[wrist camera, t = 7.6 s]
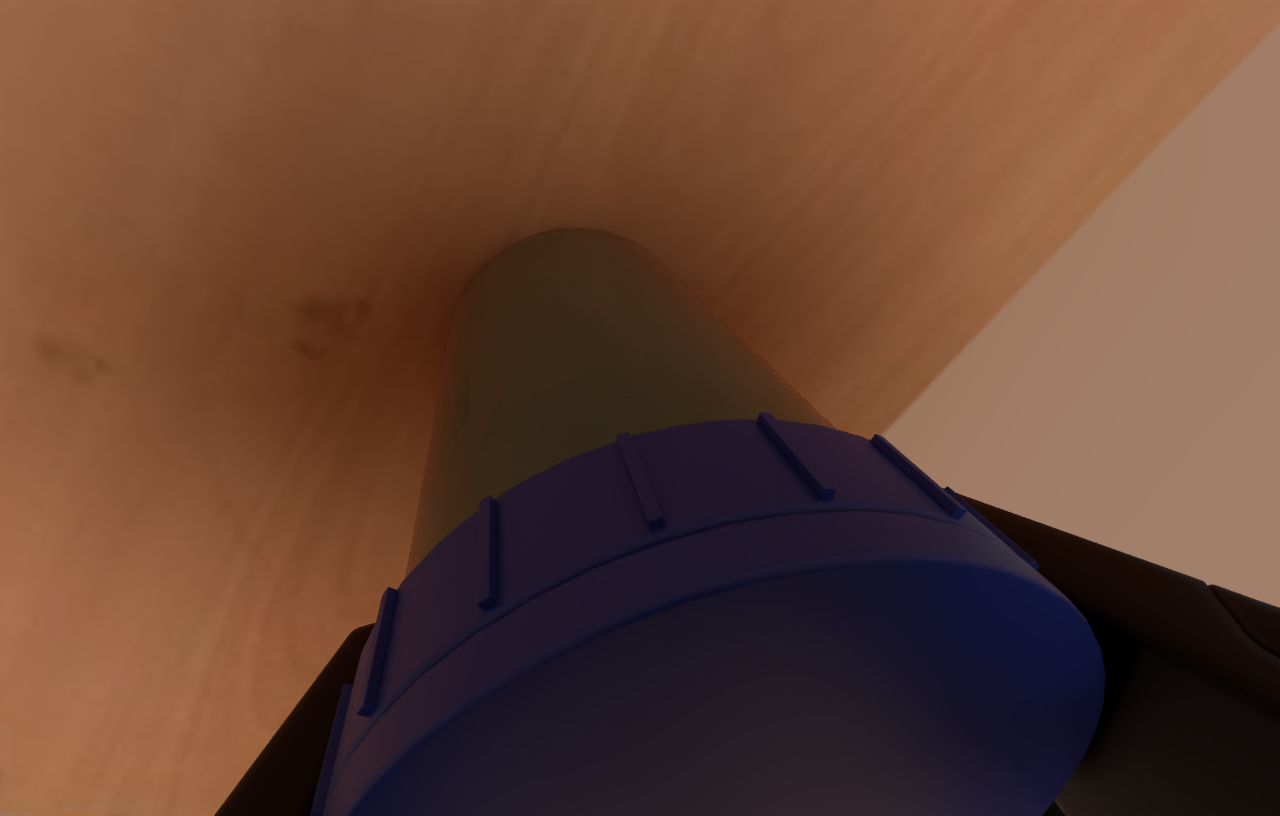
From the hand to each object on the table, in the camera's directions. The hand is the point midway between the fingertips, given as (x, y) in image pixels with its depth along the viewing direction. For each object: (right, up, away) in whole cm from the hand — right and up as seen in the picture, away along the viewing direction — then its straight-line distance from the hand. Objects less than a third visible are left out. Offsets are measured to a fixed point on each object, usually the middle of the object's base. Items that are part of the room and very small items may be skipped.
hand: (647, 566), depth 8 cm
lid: (+1, -2, -2) cm, 3 cm away
